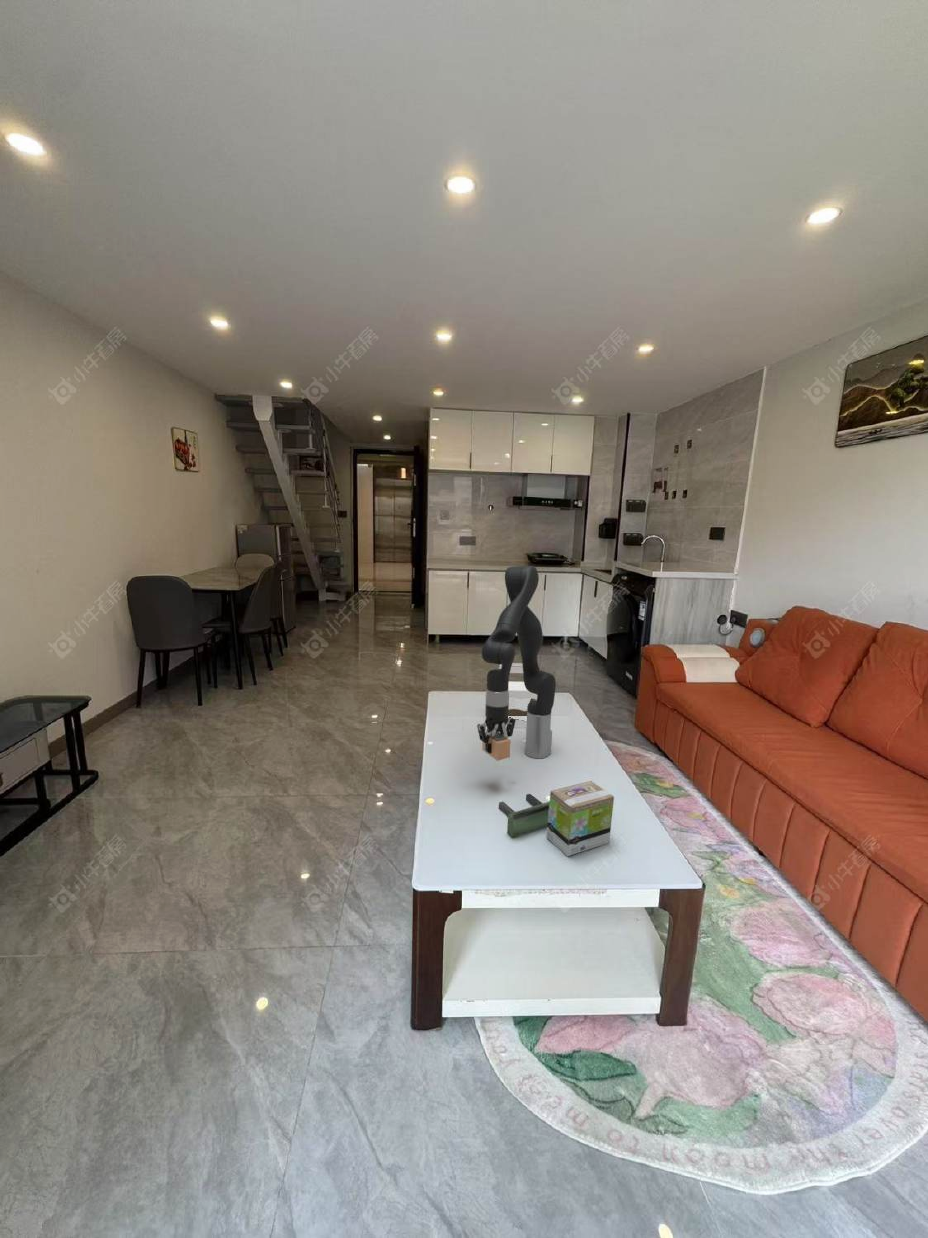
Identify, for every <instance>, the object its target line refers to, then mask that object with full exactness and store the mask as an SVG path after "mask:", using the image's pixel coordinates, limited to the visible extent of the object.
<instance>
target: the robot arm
mask: <svg viewBox="0 0 928 1238" xmlns="http://www.w3.org/2000/svg"><path fill="white" fill-rule="evenodd" d="M539 581H540V579H539V572H538V569H537V568H536V567H535V566H533V565H517V566H509V567H507V568H506V570H505V572H504V583H505V588H506V591H507V595H508V598H509V599H508V600H509V602H510V603H509V604H508V605H507V606H505V608H504V609H503V610H502V611H501V613H500V614H499V618H498V620H497V623H496V626H495V629H493V631H492V633H491V634H490V636H489V637H488V638H487V639H486V640H485V643H484V644H483V646H482V649H481V657H482V660H483V661H484V662H486V663H488V664H495V665H500V664H501V665H502V668H501V669H499V668H497V669H496V670H494V669H491V670H489V671H488V672H487V675H486V692H485V710H484V711H485V721H484V722H483V723H481V724H480V723H478V724H477V725H476V728H477V732H478V737H479V740H480V741H482V742H484V743H485V750H486V751H487V752H488V753H489V754H490V753H492V743H491V742H492V739H493V737H494V736H495V733H497V732H499V733H501V734H502V735H504V736H505V737H507V738H508V739H509V737H512V736H513V733H514V729H515V728H514V725H515V721H516V720H515V719H513V718H511V717H509V718H508V711H509V709H510V708H509V705H510V704H509V703H510V697H509V692H508V684H509V681H510V674H511V673H510V670H511V666H512V663H514V660H515V658H516V657H515V656H516V649H515V647H514V646H513V644H511V643H509V642H512V641H513V640H514V639H515V638H516V636H517V640H518V645H519V650H520V657H521V663H522V665H523V673H522V674H523V681H524V685H525V687H526V689H527V690H528V691H529V692H531V693H534V694H537V701H532V702H530V701H529V702H528V704H527V709H526V711H527V725H526V728H525V747H524V749H525V750H524V753H525V755H526V756H527V757H530V758H533V759H545V758H547V757H549V755H551V754H552V742H553V741H552V740H553V730H551V724H552V723H551V721H552V709H553V706H554V703H555V694H556V686H557V684H556V677H555V675H554V674H552V673H550V672H547V671H543V670H542V669H540V666H539V663H538V654H539V652H540V650H541V648H542V646H543V643H544V635H543V634H544V633H543V629H542V623H541V620H540V619H539V618H538V616H536V615H537V614H535V613H534V612H533V610H531V608H530V607H529V603H530V602H531V600H532V598H533V596H534V595H535V592H536V591H537V588H538V585H539ZM541 670H542V671H541ZM506 724H507V727H505V726H506ZM490 731H491V732H490ZM485 732H486V733H485ZM489 754H488V755H489Z"/></svg>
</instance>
